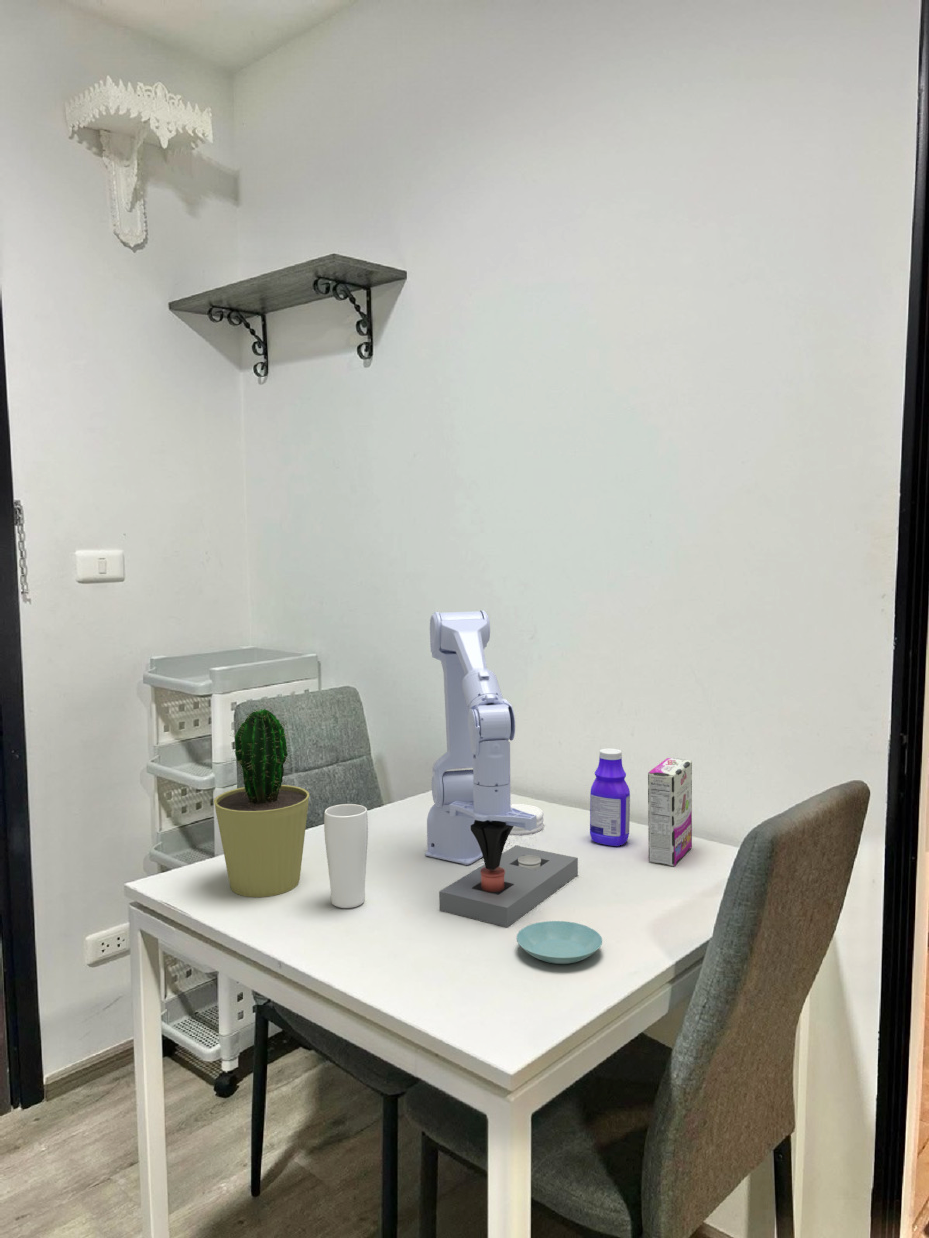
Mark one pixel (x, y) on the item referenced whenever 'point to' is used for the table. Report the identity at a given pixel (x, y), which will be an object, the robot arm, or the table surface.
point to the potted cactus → (262, 813)
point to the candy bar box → (670, 811)
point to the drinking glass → (346, 853)
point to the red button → (492, 879)
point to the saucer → (559, 941)
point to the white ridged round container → (530, 810)
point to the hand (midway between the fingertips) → (492, 867)
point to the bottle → (610, 800)
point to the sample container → (529, 862)
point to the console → (509, 887)
